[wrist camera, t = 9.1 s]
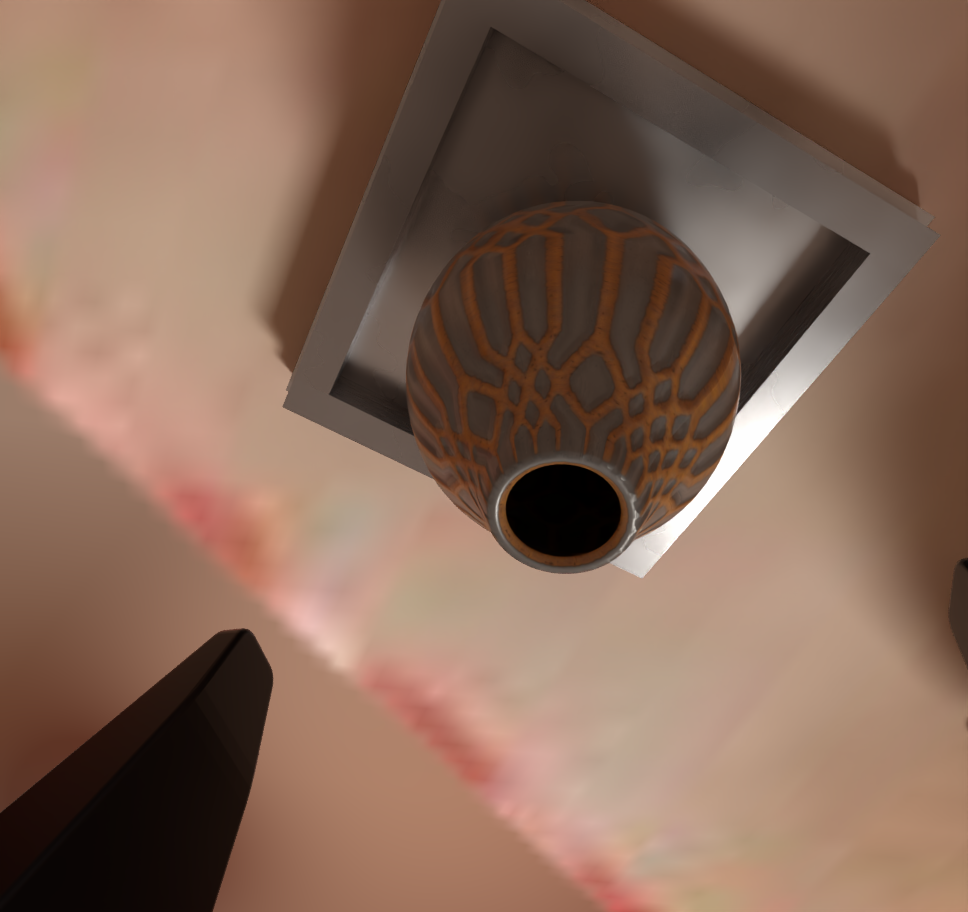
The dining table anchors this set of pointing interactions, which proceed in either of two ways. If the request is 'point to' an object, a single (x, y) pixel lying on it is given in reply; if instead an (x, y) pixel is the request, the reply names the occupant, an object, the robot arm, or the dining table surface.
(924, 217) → the grey square tray
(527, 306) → the vase
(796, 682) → the dining table surface
